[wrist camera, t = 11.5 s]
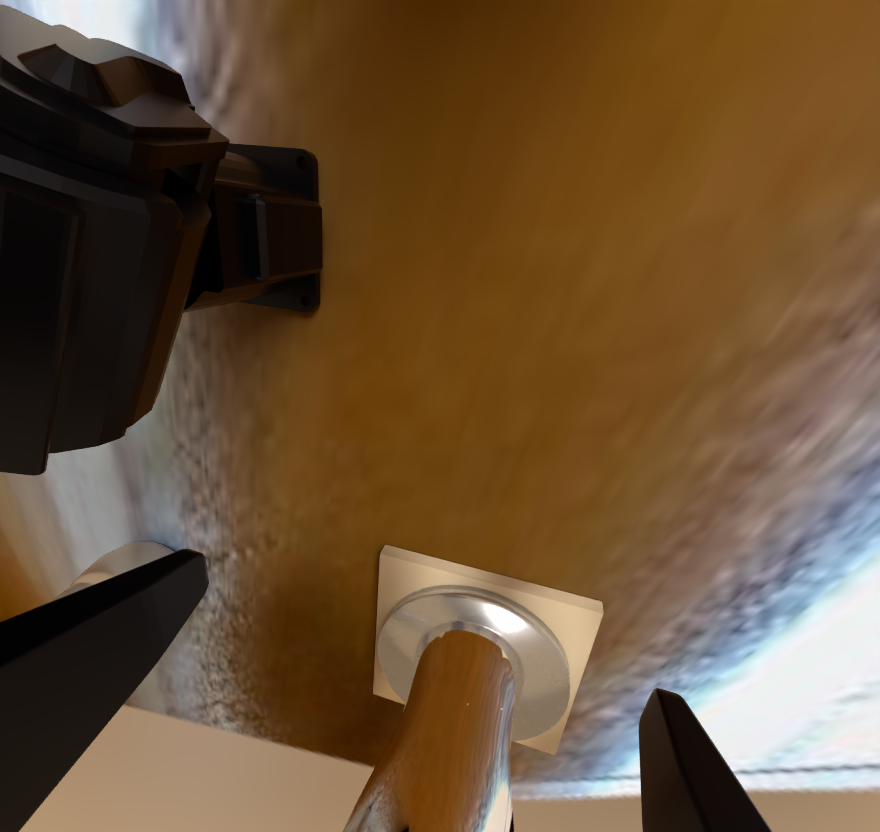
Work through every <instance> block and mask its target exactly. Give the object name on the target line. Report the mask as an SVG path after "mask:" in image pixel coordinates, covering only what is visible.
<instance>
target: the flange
mask: <svg viewBox="0 0 880 832" xmlns="http://www.w3.org/2000/svg"><path fill="white" fill-rule="evenodd" d="M446 622H468V623H473V624H477V625H480V626H483V627H486V628H488V629H490V630H492V631H494V632H496V633H497V634H499V635H500V636H502V637H503V638H504V639H506V640H507V641H508V642H509V643H510V644H511V645H512V646H513V647H514V648H515V650H516V651H517V652H518V654H519V655H520V657H521V659H522V662H523V665H524V669H525V683H524V688H523V692H522V695H521V699H520V702H519V705H518V709H517V712H516V716H515V720H514V725H513V730H512V738H511V742H514V741H521V740H526V739H529V738H533V737H536V736H538V735H540V734H542V733H544V732H546V731H548V730H549V729H551V728H552V727H553V726H554V725H555V724H556V723H558V722H559V720H560V719H561V718H562V716H563V715H564V713H565V711H566V709H567V707H568V703H569V698H570V669H569V663H568V659H567V656H566V654H565V651H564V649H563V647H562V645H561V643H560V641H559V640H558V639H557V637H556V636H555V634H554V633H553V632H552V630H551V629H550V628H549V627H548V626H547V625H546V624H545V623H544V622H543V621H542V620H541V619H540V618H538V617H537V616H536V615H535V614H534V613H532V612H531V611H529V610H528V609H527V608H525V607H524V606H522V605H520V604H519V603H517V602H515V601H513V600H511V599H509V598H507V597H505V596H502V595H500V594H498V593H495V592H492V591H488V590H485V589H481V588H477V587H472V586H464V585H438V586H432V587H427V588H423V589H420V590H418V591H415V592H413V593H411V594H409V595H407V596H406V597H404V598H403V599H402V600H400V601H399V602H398V603H397V604H396V605H395V606H394V608H393V609H392V610H391V612H390V614H389V615H388V617H387V619H386V622H385V624H384V626H383V628H382V630H381V633H380V636H379V640H378V658H379V663H380V666H381V669H382V672H383V674H384V676H385V678H386V680H387V681H388V683H389V684H390V686H391V687H392V689H393V690H394V691H395V693H396V694H397V695H398V696H399V697H400V698H401V699H402V700H403V701H404V702H405V703H406V700H407V697H408V693H409V689H410V684H411V678H412V671H413V663H414V657H415V651H416V647H417V644H418V642H419V640H420V638H421V637H422V635H423V634H424V633H425V632H426V631H427V630H429V629H430V628H432V627H434V626H436V625H438V624H442V623H446Z"/></svg>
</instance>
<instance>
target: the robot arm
mask: <svg viewBox="0 0 880 832" xmlns="http://www.w3.org/2000/svg"><path fill="white" fill-rule="evenodd" d="M194 110H195V107H194V106H193V105H192V104H191V102H190V99H189V96H188V93H187V91H186V88H185V85H184V82H183V79H182V76H181V74H179V73H178V72H176V71H175V70H173V69H172V68H171V67H169V66H168V65H166V64H165V63H164V62H161V61H159V60H156V59H154V58H152V57H149V56H147V55H145V54H142V53H140V52H138V51H135V50H133V49H130V48H128V47H125V46H123V45H120V44H118V43H115V42H112V41H109V40H105V39H100V38H92V39H88V38H87V37H85V36H84V35H82V34H80V33H78V32H77V31H75V30H73V29H71V28H69V27H66V26H64V25H54V26H50V25H48V24H46V23H44V22H42V21H40V20H38V19H35V18H33V17H31V16H29V15H27V14H25V13H23V12H21V11H18V10H16V9H14V8H11V7H9V6H6V5H0V472H7V473H16V474H24V475H40V474H42V473H44V472H45V471H46V467H47V461H48V454H49V453H59V452H65V451H71V450H77V449H83V448H89V447H95V446H99V445H102V444H105V443H108V442H111V441H114V440H116V439H119V438H121V437H123V436H124V435H125V432H126V429H127V428H128V427H130V426H132V425H133V424H135V423H136V422H137V421H138V420H139V419H141V418H142V417H143V416H144V415H146V414H147V413H148V412H149V411H151V410H152V408H153V405H154V403H155V401H156V398H157V396H158V394H159V391H160V388H161V384H162V381H163V378H164V374H165V371H166V368H167V364H168V361H169V358H170V354H171V351H172V347H173V344H174V341H175V337H176V334H177V331H178V327H179V324H180V321H181V317H182V314H183V313H184V312H189V311H194V310H198V309H203V308H208V307H213V306H217V305H222V304H227V303H232V302H237V301H239V302H245V303H252V304H258V305H264V306H271V307H277V308H283V309H290V310H296V311H303V312H311V311H314V310H316V309H318V307H319V305H320V270H321V269H322V266H323V265H322V209H321V207H320V205H319V199H318V163H317V159H316V157H315V155H314V154H312V153H311V152H309V151H306V150H303V149H295V148H282V147H269V146H256V145H243V144H229V139H228V138H226V137H225V136H223V135H222V134H221V133H219V132H218V131H216V130H215V129H214V128H212V126H211V125H210V124H209V123H207V122H206V121H205V120H204V119H202V118H201V117H200V116H199V115H198V114H196V113H195V112H194ZM304 158H306V160H307V168H306V169H305V170H303V168H302V165H301V163H302V160H303V159H304ZM306 296H308V297H309V298H310V300H311V304H310V305H308V304H307V302H306V300H305V299H306ZM208 584H209V580H208V573H207V567H206V561H205V557H204V555H203V554H202V553H200V552H197V551H193V550H190V549H182V550H179V551H176V552H174V553H171V554H169V555H166V556H164V557H161V558H159V559H156V560H154V561H151V562H149V563H146V564H144V565H142V566H139V567H137V568H134V569H132V570H129V571H127V572H124V573H122V574H119V575H117V576H114V577H112V578H109V579H107V580H104V581H102V582H99V583H97V584H94V585H92V586H89V587H87V588H84V589H82V590H79V591H77V592H74V593H72V594H69V595H67V596H64V597H62V598H59V599H57V600H54V601H52V602H49V603H47V604H44V605H42V606H39V607H37V608H34V609H32V610H29V611H27V612H24V613H22V614H19V615H17V616H14V617H12V618H9V619H7V620H4V621H2V622H0V832H19V831H20V830H21V828H22V827H23V826H24V825H25V824H26V822H27V821H28V820H29V818H30V817H31V816H32V815H33V814H34V812H35V811H36V810H37V809H38V808H39V806H40V805H41V804H42V803H43V802H44V800H45V799H46V798H47V797H48V795H49V794H50V793H51V792H52V791H53V789H54V788H55V787H56V786H57V785H58V783H59V782H60V781H61V780H62V778H63V777H64V776H65V774H67V772H68V771H69V770H70V769H71V767H72V766H73V765H74V764H75V763H76V761H77V760H78V759H79V758H80V756H81V755H82V754H83V753H84V752H85V750H86V749H87V748H88V747H89V745H90V744H91V743H92V741H94V739H95V738H96V737H97V736H98V734H99V733H100V732H101V731H102V730H103V728H104V727H105V726H106V725H107V724H108V722H109V721H110V720H111V719H112V717H113V716H114V715H115V714H116V713H117V711H118V710H119V709H120V707H121V706H122V705H123V704H124V703H125V702H126V700H127V699H128V698H129V697H130V696H131V694H132V693H133V692H134V691H135V689H136V688H137V687H138V686H139V685H140V683H141V682H142V681H143V680H144V678H145V677H146V676H147V675H148V674H149V672H150V671H151V670H152V668H153V667H154V666H155V665H156V663H157V662H158V661H159V659H160V658H161V657H162V655H163V654H164V652H165V651H166V650H167V648H168V647H169V645H170V644H171V642H172V641H173V640H174V638H175V637H176V635H177V634H178V632H179V631H180V629H181V628H182V626H183V625H184V624H185V622H186V621H187V619H188V618H189V616H190V615H191V613H192V612H193V610H194V609H195V608H196V606H197V605H198V603H199V602H200V600H201V599H202V597H203V596H204V594H205V593H206V591H207V588H208ZM639 749H640V776H641V802H642V826H643V832H772V830H771V829H770V827H769V826H768V824H767V823H766V821H765V820H764V818H763V817H762V815H761V814H760V813H759V811H758V809H757V808H756V806H755V805H754V803H753V802H752V800H751V799H750V797H749V796H748V794H747V793H746V791H745V790H744V788H743V787H742V785H741V784H740V782H739V781H738V779H737V778H736V776H735V775H734V773H733V772H732V770H731V769H730V767H729V766H728V764H727V763H726V761H725V760H724V758H723V757H722V755H721V754H720V752H719V751H718V749H717V748H716V746H715V745H714V743H713V742H712V740H711V739H710V737H709V736H708V734H707V733H706V731H705V730H704V728H703V727H702V725H701V724H700V722H699V721H698V719H697V718H696V716H695V715H694V713H693V712H692V710H691V709H690V707H689V706H688V704H687V703H686V701H685V700H684V699H683V698H682V697H681V696H680V695H678V694H676V693H673V692H669V691H666V690H663V689H659V688H656V689H654V690H653V691H652V693H651V695H650V697H649V699H648V702H647V704H646V706H645V708H644V711H643V713H642V715H641V718H640V723H639Z"/></svg>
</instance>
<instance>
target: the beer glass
mask: <svg viewBox="0 0 880 832" xmlns="http://www.w3.org/2000/svg"><path fill="white" fill-rule="evenodd" d="M524 683H525V669H524V665H523V662H522V659H521V657H520V655H519V654H518V652H517V651H516V650H515V648H514V647H513V646H512V645H511V644H510V643H509V642H508V641H507V640H506V639H504V638H503V637H502V636H500V635H499V634H497V633H496V632H494V631H492V630H490V629H488V628H486V627H483V626H480V625H477V624H473V623H468V622H446V623H442V624H438V625H436V626H434V627H432V628H430V629H429V630H427V631H426V632H425V633H424V634H423V635H422V637H421V638H420V640H419V642H418V644H417V647H416V651H415V657H414V663H413V671H412V678H411V684H410V689H409V693H408V697H407V700H406V704H405V707H404V709H403V712H402V714H401V717H400V720H399V722H398V724H397V726H396V728H395V730H394V732H393V734H392V736H391V738H390V740H389V742H388V744H387V746H386V748H385V750H384V752H383V753H382V755H381V757H380V759H379V761H378V763H377V765H376V767H375V768H374V770H373V772H372V774H371V776H370V778H369V780H368V782H367V784H366V786H365V788H364V789H363V792H362V794H361V795H360V797H359V799H358V801H357V803H356V805H355V807H354V809H353V811H352V813H351V815H350V817H349V819H348V822H347V823H346V826H345V828H344V830H343V832H514V824H513V823H514V822H513V807H512V792H511V770H510V753H511V738H512V730H513V725H514V720H515V716H516V712H517V709H518V705H519V702H520V699H521V695H522V692H523V688H524Z"/></svg>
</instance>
